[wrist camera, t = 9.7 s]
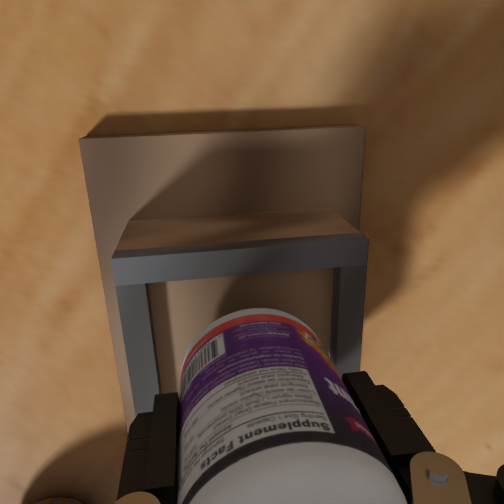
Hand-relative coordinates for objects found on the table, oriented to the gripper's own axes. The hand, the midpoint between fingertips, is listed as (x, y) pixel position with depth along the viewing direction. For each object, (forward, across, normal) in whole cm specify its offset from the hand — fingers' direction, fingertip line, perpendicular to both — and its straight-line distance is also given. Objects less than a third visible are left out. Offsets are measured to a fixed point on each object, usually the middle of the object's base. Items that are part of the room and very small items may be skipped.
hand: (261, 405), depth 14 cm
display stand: (+8, 0, 0) cm, 8 cm away
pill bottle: (+2, 0, 0) cm, 2 cm away
